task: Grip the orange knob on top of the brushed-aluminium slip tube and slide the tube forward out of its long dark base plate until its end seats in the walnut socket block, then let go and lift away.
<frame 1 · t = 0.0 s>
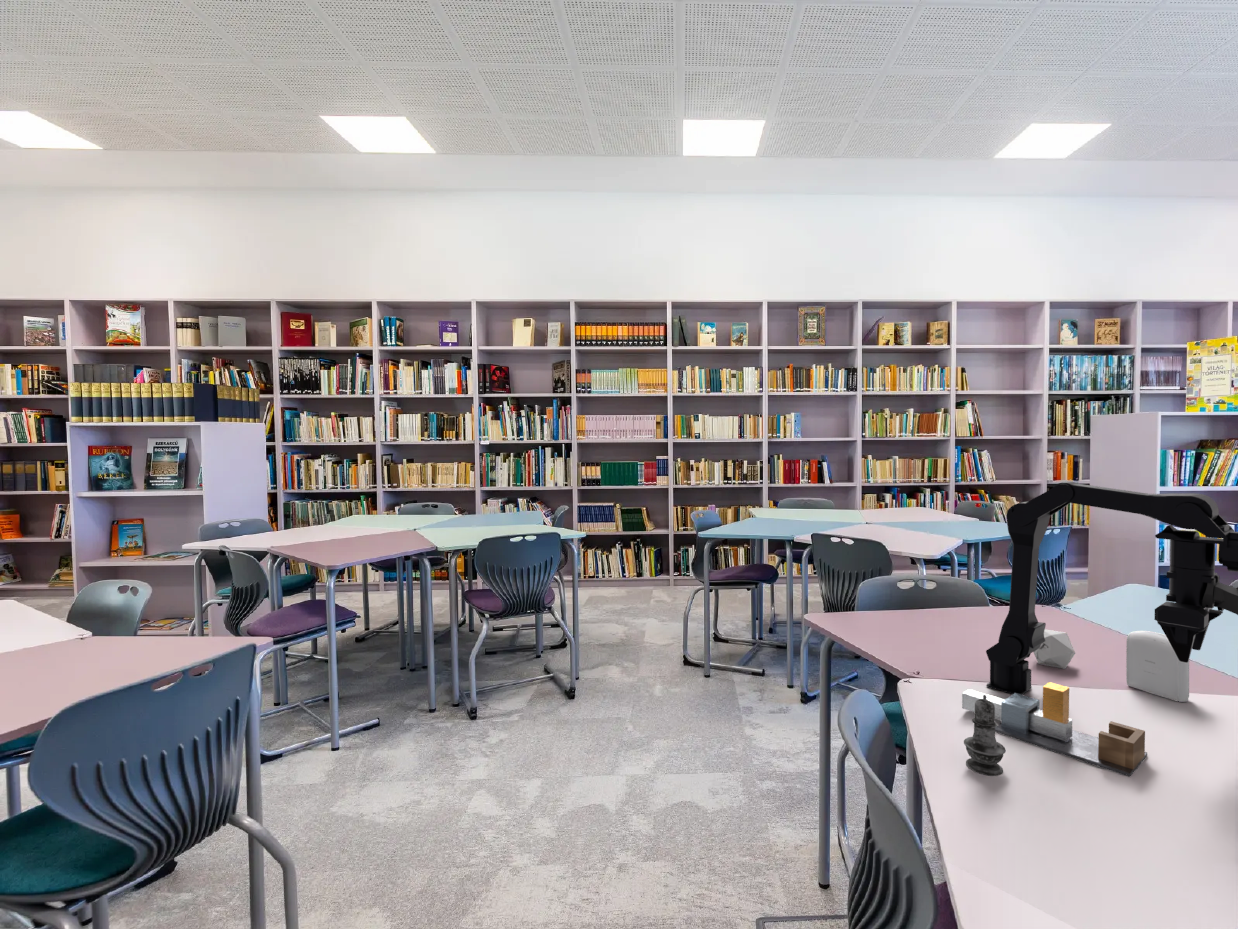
hand: (1190, 655, 108), 15 cm above the table, tool pointing down, fingers open, 9 cm apart
die: (1052, 665, 143), on the table
slip tube: (1014, 698, 114), point 5 cm above the table, slide at 0.0 cm
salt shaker: (984, 768, 100), on the table
socket block: (1121, 760, 101), resting on long dark base plate
long dark base plate: (1020, 728, 113), on the table
photo printer: (1156, 693, 127), on the table
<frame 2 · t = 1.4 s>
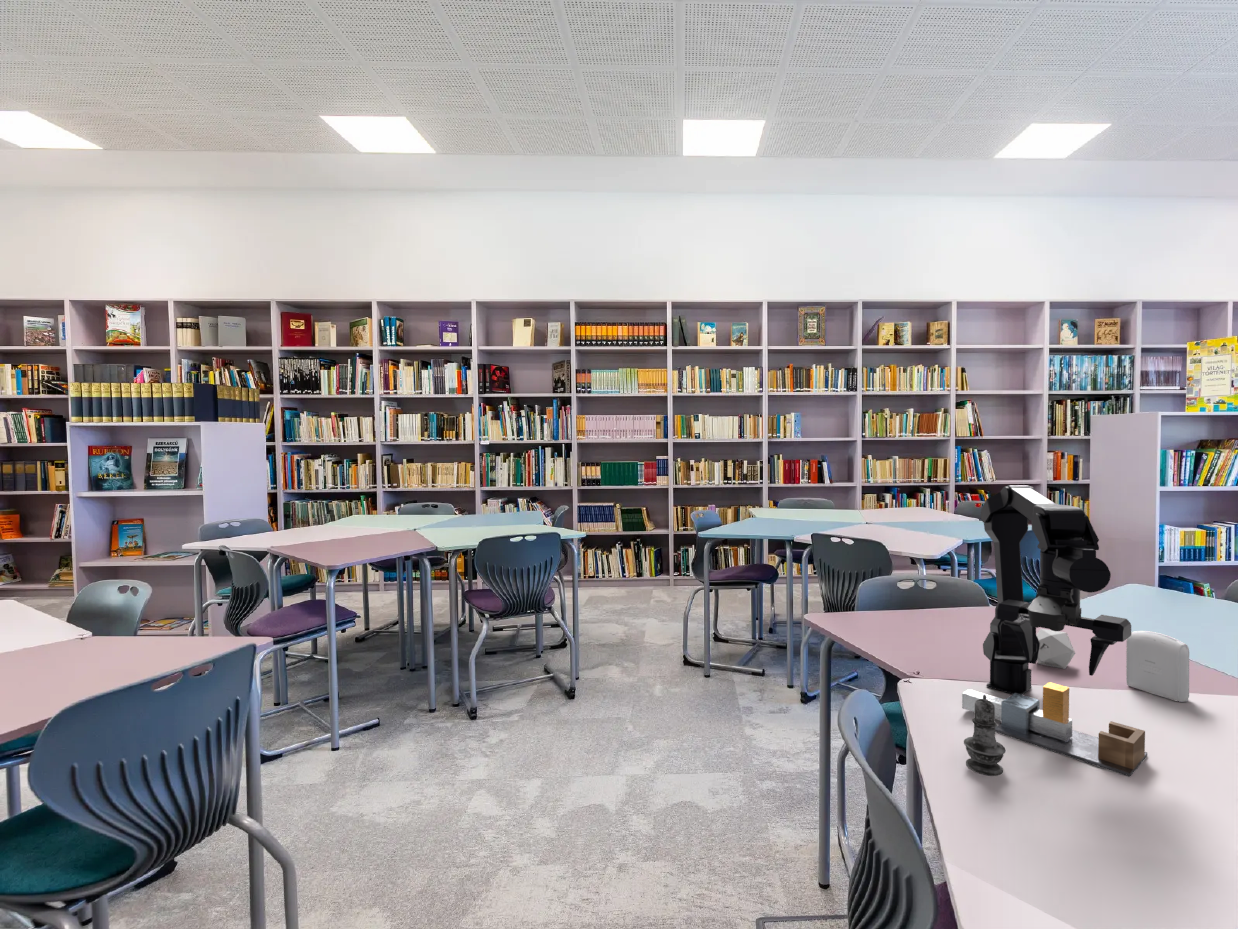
hand: (1059, 667, 108), 13 cm above the table, tool pointing down, fingers open, 9 cm apart
nothing on the table moved.
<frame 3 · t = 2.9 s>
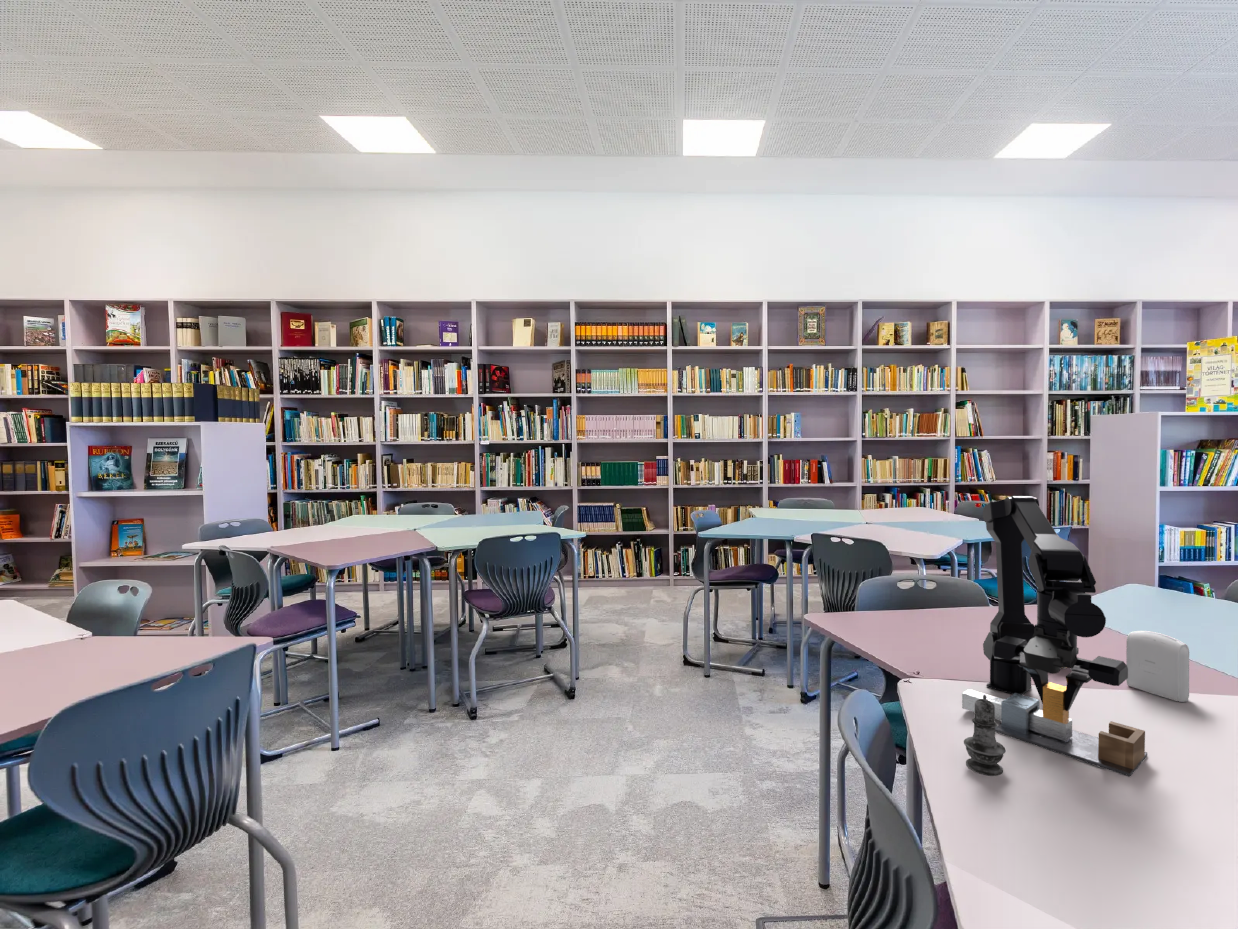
hand: (1055, 707, 108), 6 cm above the table, tool pointing down, fingers closed on slip tube, 3 cm apart
slip tube: (1014, 698, 114), point 5 cm above the table, slide at 0.0 cm, touching gripper
everything else where it was.
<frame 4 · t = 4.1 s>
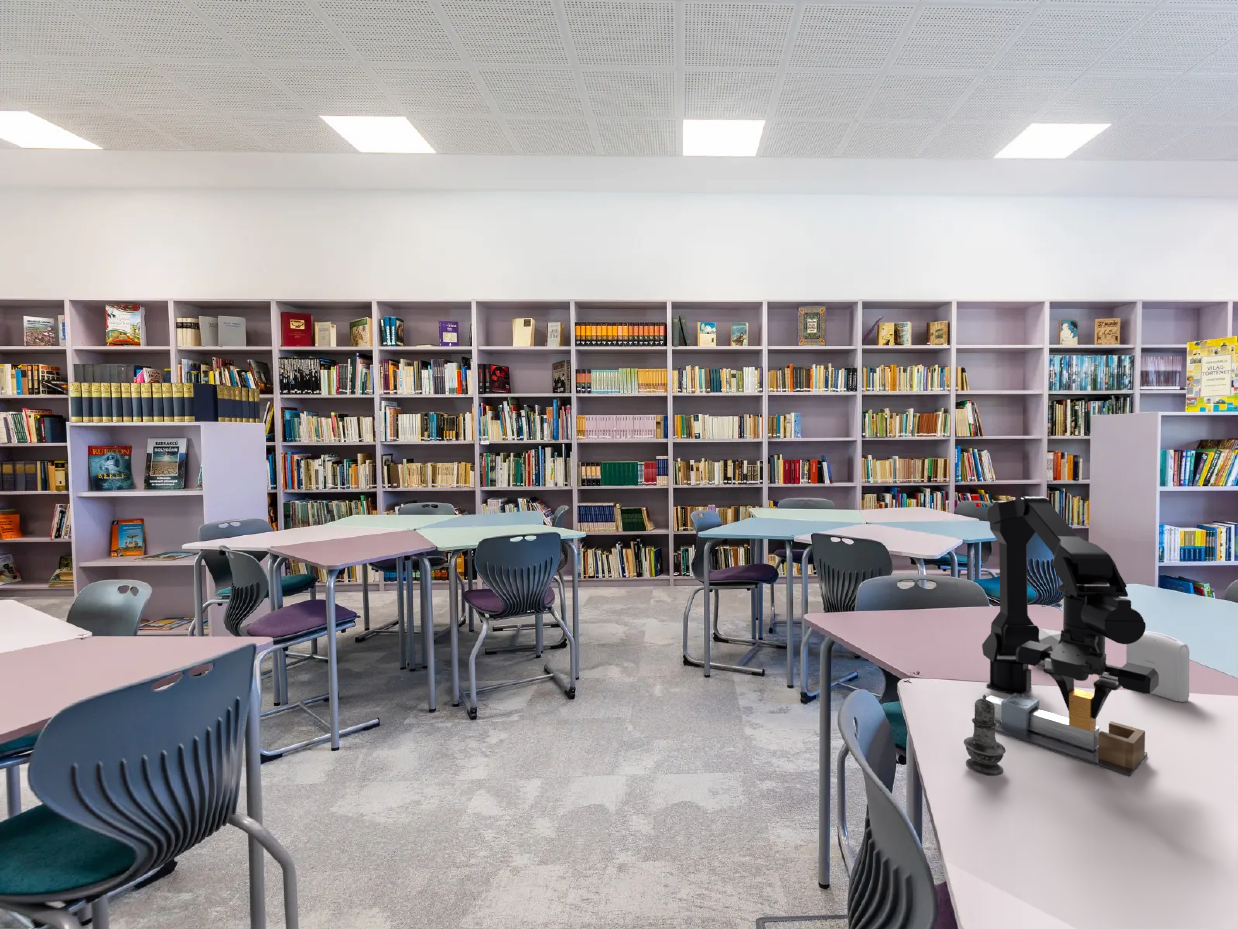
hand: (1082, 714, 105), 6 cm above the table, tool pointing down, fingers closed on slip tube, 3 cm apart
slip tube: (1038, 705, 111), point 5 cm above the table, slide at 3.9 cm, touching gripper
everything else where it was.
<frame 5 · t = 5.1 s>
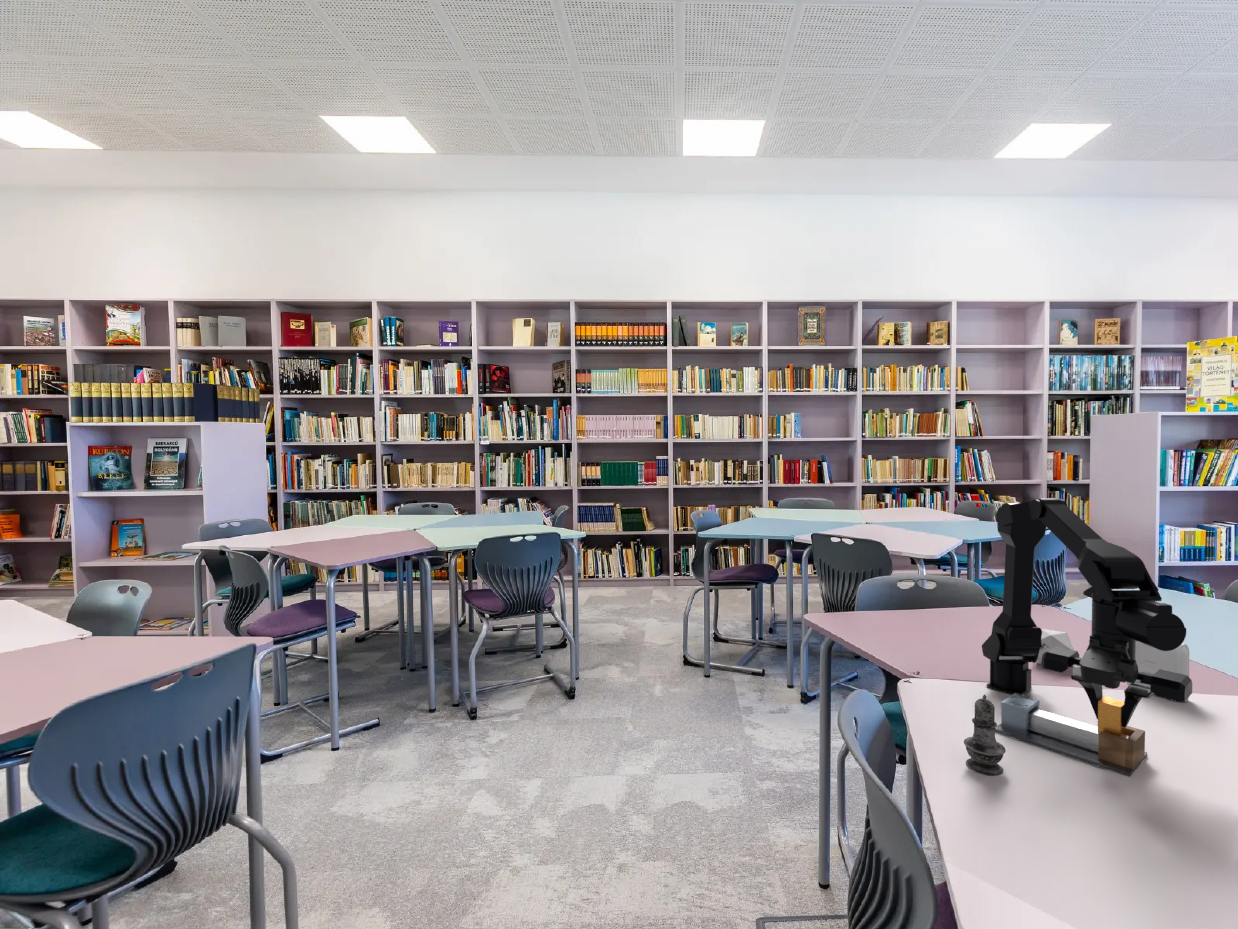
hand: (1111, 723, 102), 6 cm above the table, tool pointing down, fingers closed on slip tube, 3 cm apart
slip tube: (1065, 713, 107), point 5 cm above the table, slide at 7.9 cm, touching gripper
everything else where it was.
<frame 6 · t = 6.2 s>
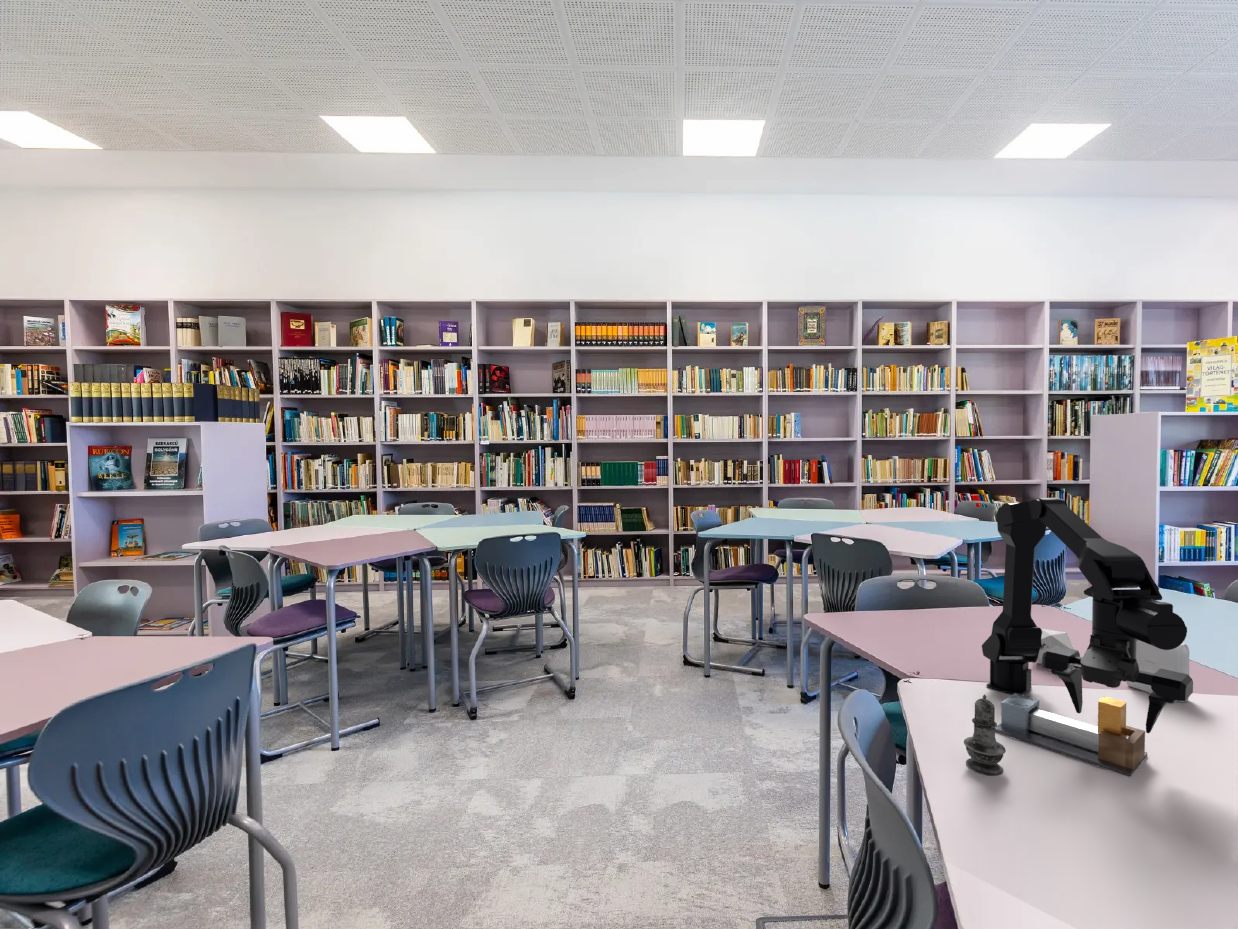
hand: (1112, 722, 102), 6 cm above the table, tool pointing down, fingers open, 9 cm apart
slip tube: (1065, 713, 107), point 5 cm above the table, slide at 7.9 cm
everything else where it was.
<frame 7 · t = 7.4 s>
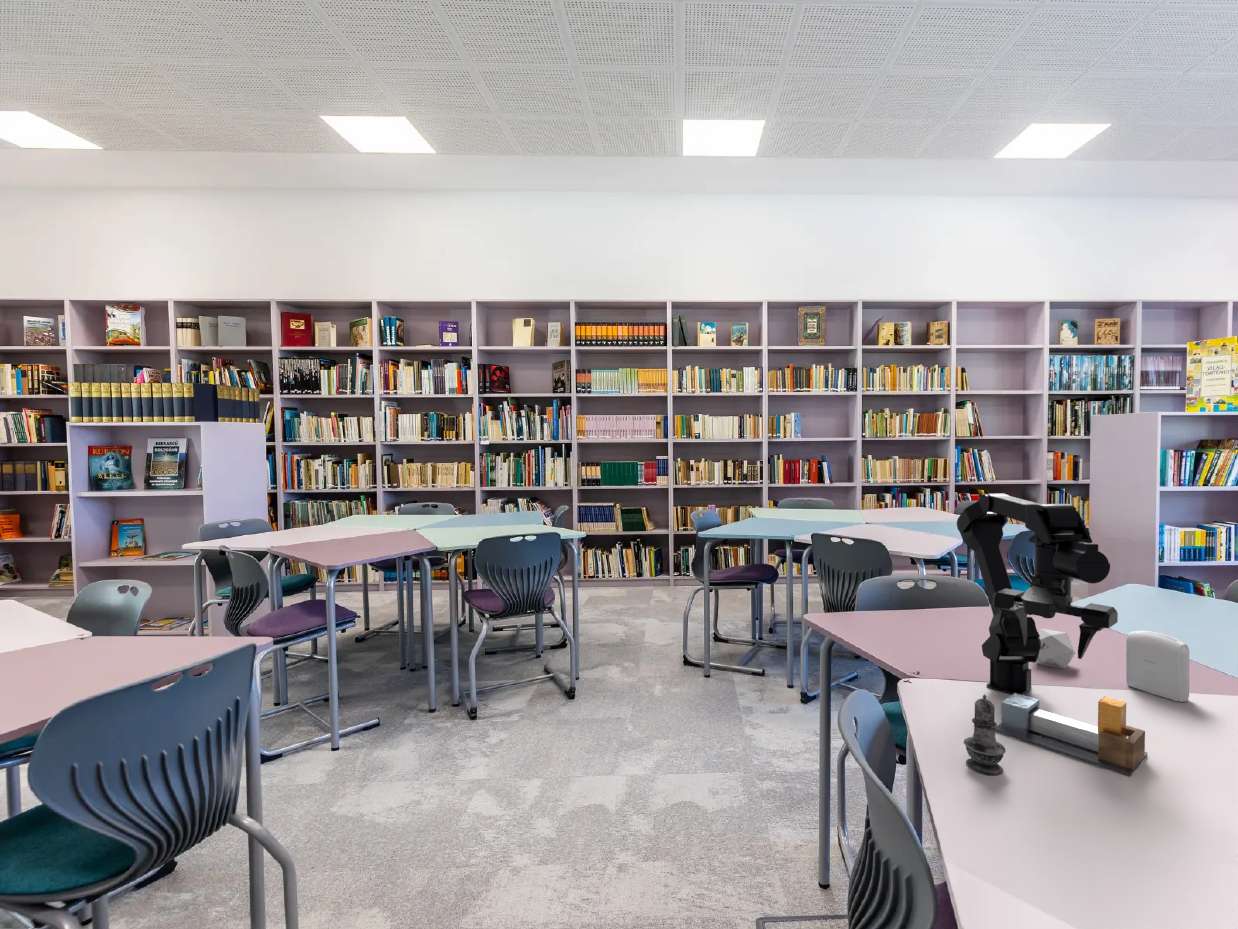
hand: (1051, 651, 117), 12 cm above the table, tool pointing down, fingers open, 9 cm apart
nothing on the table moved.
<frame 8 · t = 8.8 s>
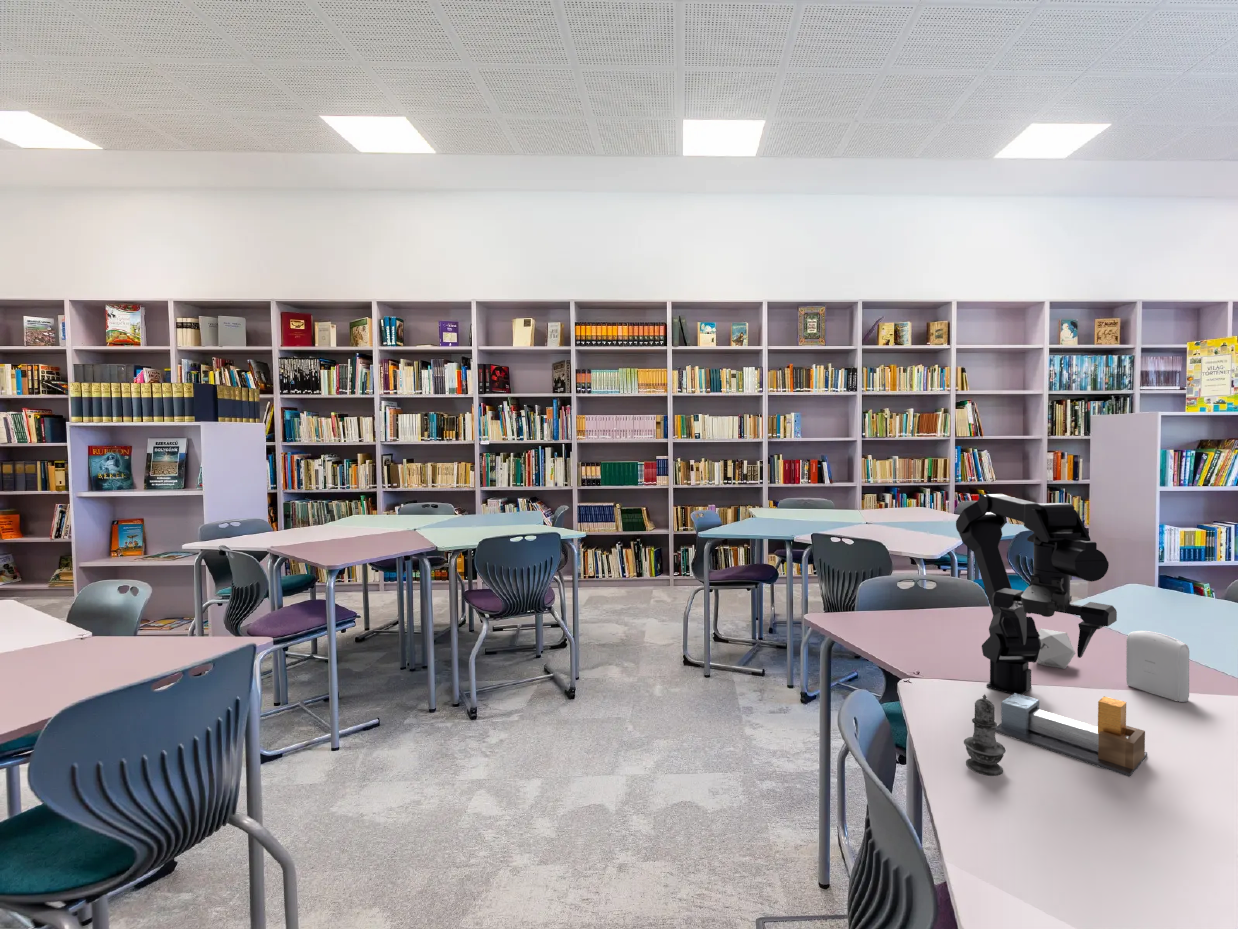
hand: (1050, 650, 117), 13 cm above the table, tool pointing down, fingers open, 9 cm apart
nothing on the table moved.
at the end: slip tube slide at 7.9 cm; the gripper is holding nothing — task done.
